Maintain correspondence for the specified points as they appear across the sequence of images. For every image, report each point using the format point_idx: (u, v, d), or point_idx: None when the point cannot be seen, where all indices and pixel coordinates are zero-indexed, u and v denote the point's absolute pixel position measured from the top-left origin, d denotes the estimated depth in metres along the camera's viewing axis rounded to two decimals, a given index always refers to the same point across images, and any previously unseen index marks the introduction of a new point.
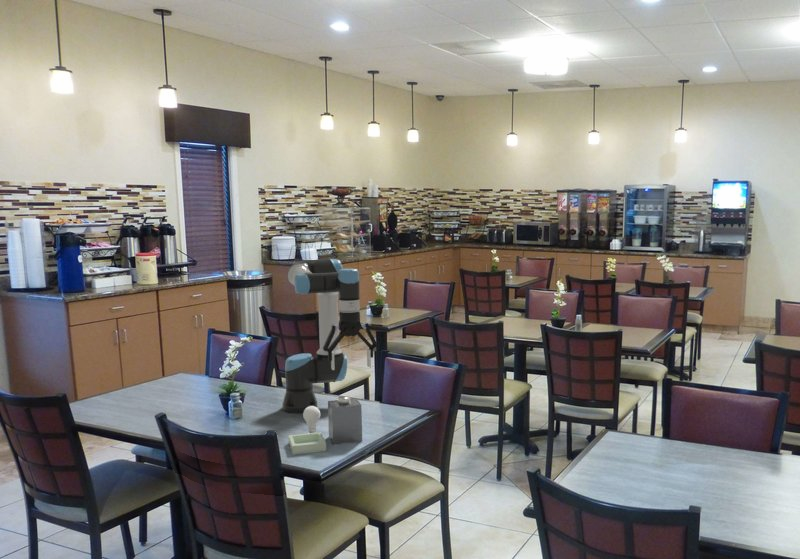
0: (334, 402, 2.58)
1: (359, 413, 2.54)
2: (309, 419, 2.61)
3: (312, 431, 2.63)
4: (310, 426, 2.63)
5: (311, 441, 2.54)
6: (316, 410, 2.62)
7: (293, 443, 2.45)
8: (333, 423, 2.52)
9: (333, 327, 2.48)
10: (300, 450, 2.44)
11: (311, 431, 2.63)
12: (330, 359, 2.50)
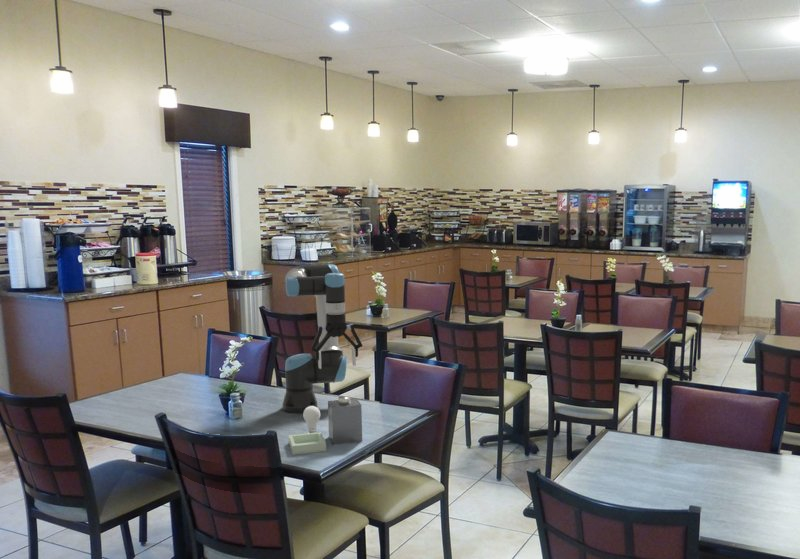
0: (334, 402, 2.58)
1: (359, 413, 2.54)
2: (309, 419, 2.61)
3: (312, 431, 2.63)
4: (310, 426, 2.63)
5: (311, 441, 2.54)
6: (316, 410, 2.62)
7: (293, 443, 2.45)
8: (333, 423, 2.52)
9: (320, 328, 2.64)
10: (300, 450, 2.44)
11: (311, 431, 2.63)
12: (317, 358, 2.65)
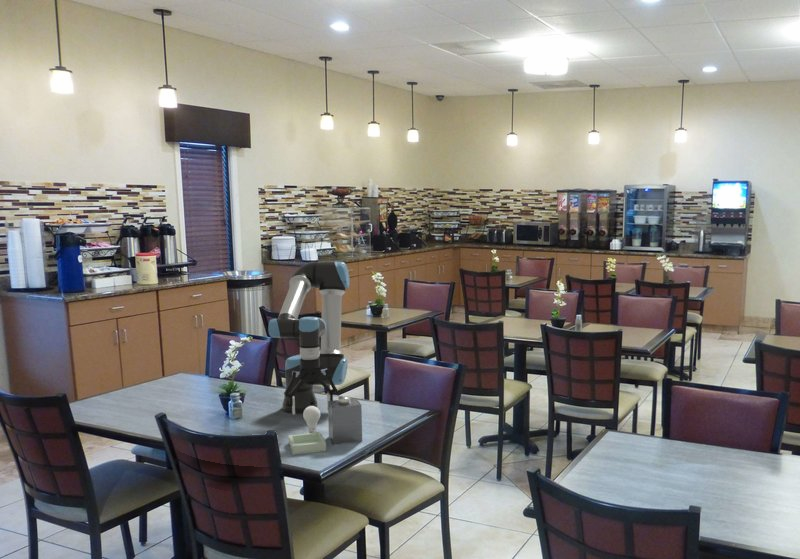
0: (334, 402, 2.58)
1: (359, 413, 2.54)
2: (309, 419, 2.61)
3: (312, 431, 2.63)
4: (310, 426, 2.63)
5: (311, 441, 2.54)
6: (316, 410, 2.62)
7: (293, 443, 2.45)
8: (333, 423, 2.52)
9: (294, 373, 2.59)
10: (300, 450, 2.44)
11: (311, 431, 2.63)
12: (291, 404, 2.60)
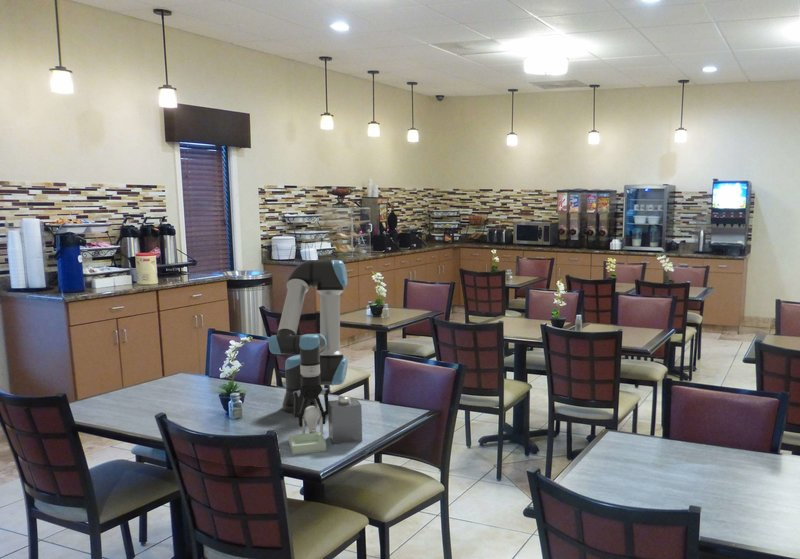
0: (334, 402, 2.58)
1: (359, 413, 2.54)
2: (309, 419, 2.61)
3: (312, 431, 2.63)
4: (310, 426, 2.63)
5: (311, 441, 2.54)
6: (316, 410, 2.62)
7: (293, 443, 2.45)
8: (333, 423, 2.52)
9: (295, 394, 2.60)
10: (300, 450, 2.44)
11: (311, 431, 2.63)
12: (301, 425, 2.62)
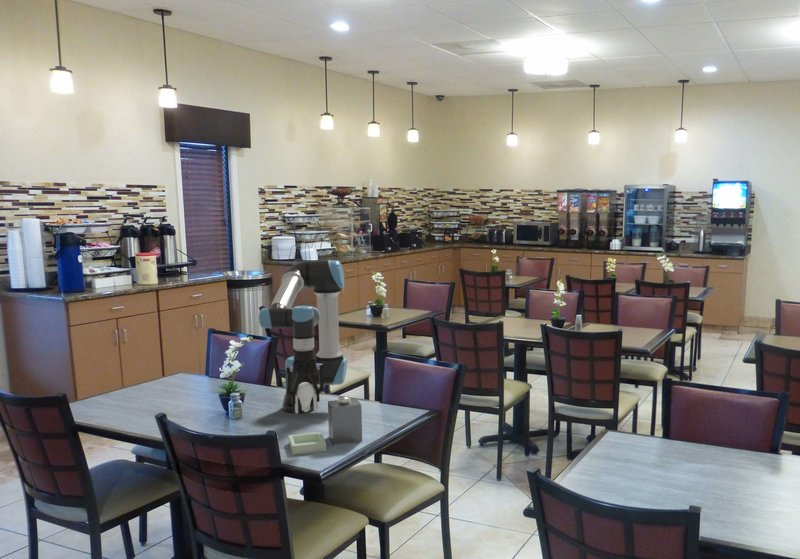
0: (334, 402, 2.58)
1: (359, 413, 2.54)
2: (303, 396, 2.45)
3: (305, 409, 2.48)
4: (304, 403, 2.47)
5: (311, 441, 2.54)
6: (310, 386, 2.47)
7: (293, 443, 2.45)
8: (333, 423, 2.52)
9: (287, 369, 2.44)
10: (300, 450, 2.44)
11: (304, 409, 2.48)
12: (293, 402, 2.47)
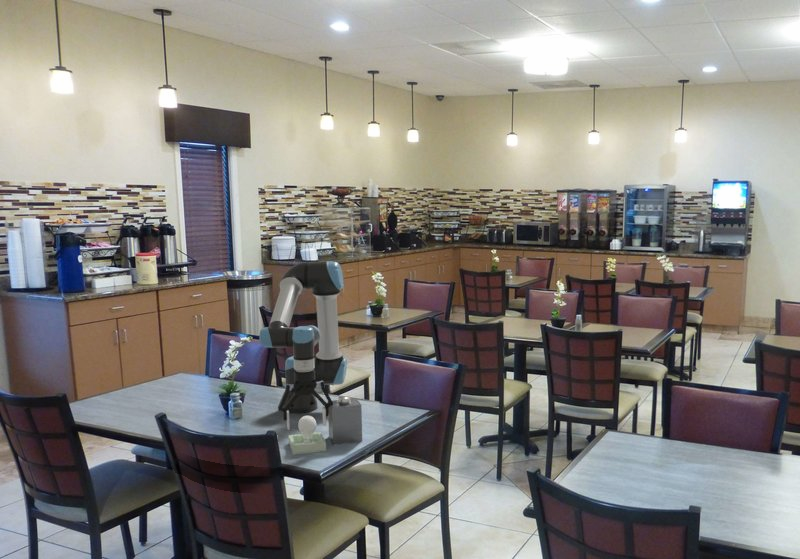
0: (334, 402, 2.58)
1: (359, 413, 2.54)
2: (305, 430, 2.47)
3: (307, 442, 2.49)
4: (306, 436, 2.48)
5: None
6: (312, 420, 2.48)
7: (293, 443, 2.45)
8: (333, 423, 2.52)
9: (287, 387, 2.45)
10: (300, 450, 2.44)
11: (306, 442, 2.49)
12: (285, 419, 2.47)
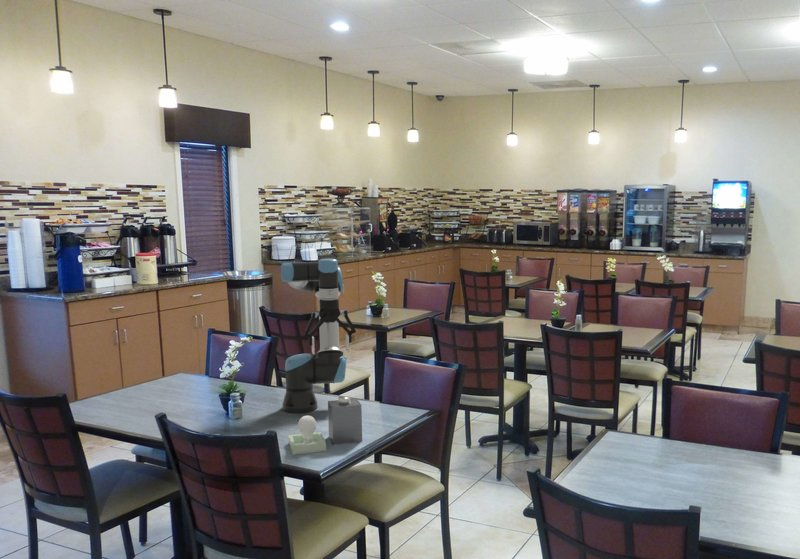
0: (334, 402, 2.58)
1: (359, 413, 2.54)
2: (305, 430, 2.47)
3: (307, 442, 2.49)
4: (306, 436, 2.48)
5: None
6: (312, 420, 2.48)
7: (293, 443, 2.45)
8: (333, 423, 2.52)
9: (313, 314, 2.64)
10: (300, 450, 2.44)
11: (306, 442, 2.49)
12: (310, 344, 2.65)
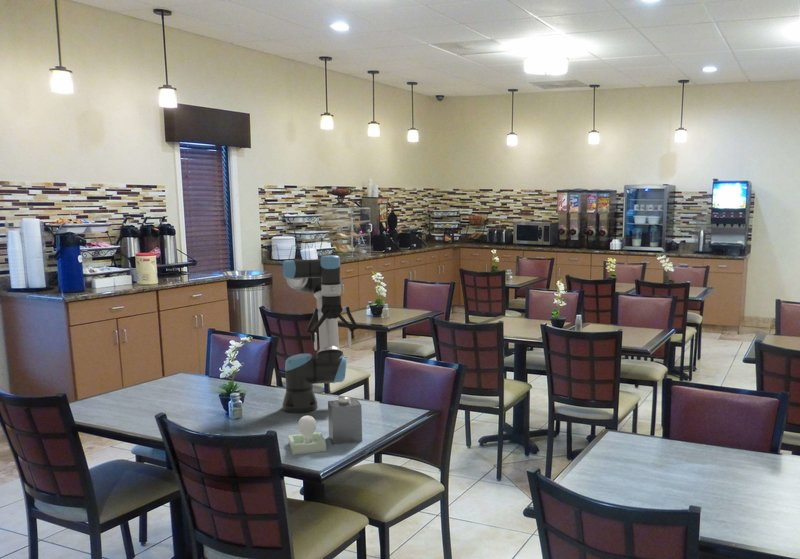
0: (334, 402, 2.58)
1: (359, 413, 2.54)
2: (305, 430, 2.47)
3: (307, 442, 2.49)
4: (306, 436, 2.48)
5: None
6: (312, 420, 2.48)
7: (293, 443, 2.45)
8: (333, 423, 2.52)
9: (316, 310, 2.65)
10: (300, 450, 2.44)
11: (306, 442, 2.49)
12: (313, 340, 2.67)
